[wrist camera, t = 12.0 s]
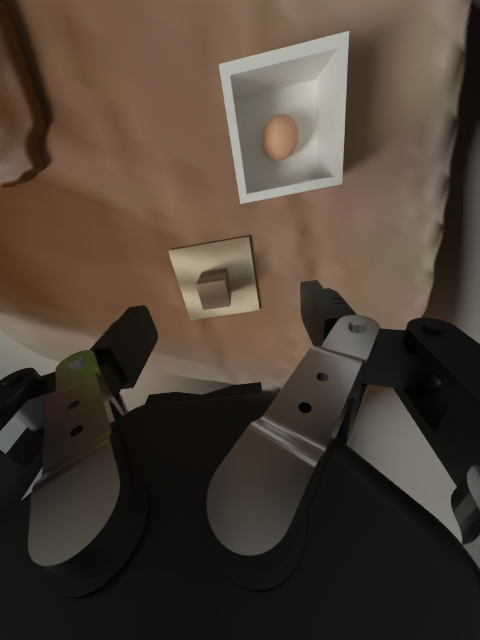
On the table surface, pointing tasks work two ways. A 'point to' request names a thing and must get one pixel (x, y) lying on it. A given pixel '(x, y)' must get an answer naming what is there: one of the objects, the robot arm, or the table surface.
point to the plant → (17, 111)
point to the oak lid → (216, 278)
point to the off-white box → (299, 103)
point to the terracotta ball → (280, 137)
